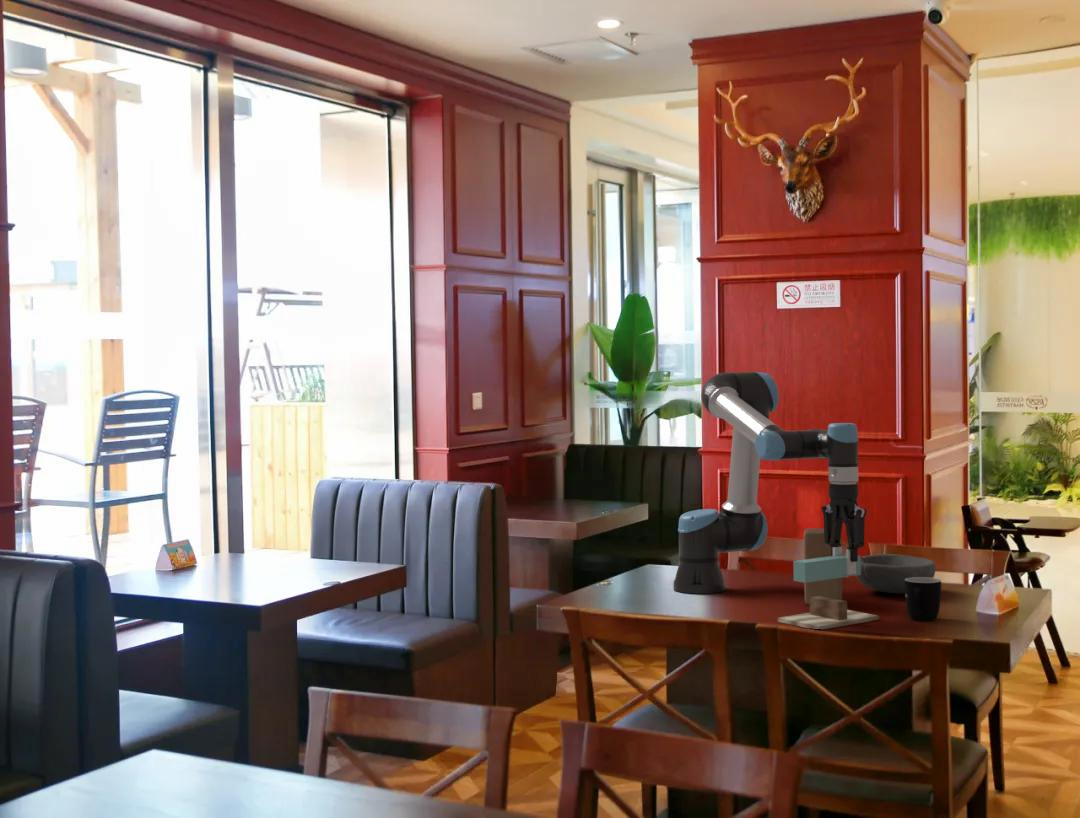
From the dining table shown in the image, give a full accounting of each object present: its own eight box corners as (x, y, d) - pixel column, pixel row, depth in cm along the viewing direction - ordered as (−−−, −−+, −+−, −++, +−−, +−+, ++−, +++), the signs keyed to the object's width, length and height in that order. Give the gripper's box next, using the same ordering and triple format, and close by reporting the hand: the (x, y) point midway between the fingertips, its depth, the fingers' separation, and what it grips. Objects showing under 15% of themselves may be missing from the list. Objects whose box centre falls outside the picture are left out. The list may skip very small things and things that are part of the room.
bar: (793, 580, 318) (793, 561, 318) (849, 573, 329) (848, 553, 329) (805, 582, 315) (804, 562, 315) (860, 574, 326) (860, 555, 326)
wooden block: (842, 606, 342) (841, 532, 342) (804, 605, 344) (804, 532, 344) (841, 599, 352) (840, 528, 352) (804, 599, 354) (803, 528, 354)
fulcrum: (777, 621, 322) (777, 600, 322) (837, 611, 334) (837, 591, 334) (818, 630, 311) (817, 608, 310) (878, 619, 323) (878, 598, 323)
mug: (909, 614, 329) (909, 576, 328) (945, 617, 324) (944, 578, 324) (897, 622, 318) (897, 582, 318) (933, 625, 314) (933, 585, 314)
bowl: (906, 603, 345) (906, 566, 345) (838, 593, 362) (837, 558, 362) (951, 592, 361) (951, 558, 360) (883, 583, 378) (883, 550, 377)
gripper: (808, 481, 330) (809, 570, 330) (858, 485, 316) (859, 578, 316) (829, 480, 334) (830, 567, 335) (879, 483, 320) (880, 575, 320)
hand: (844, 572), depth 325 cm, fingers closed on bar, 4 cm apart
